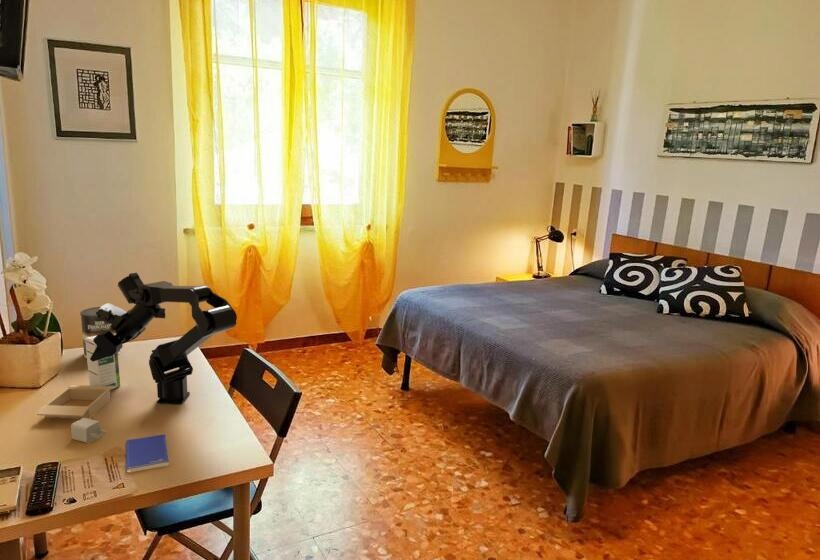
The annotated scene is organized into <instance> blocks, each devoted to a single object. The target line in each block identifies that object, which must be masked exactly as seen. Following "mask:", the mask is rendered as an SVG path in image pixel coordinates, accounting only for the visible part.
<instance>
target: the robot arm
mask: <svg viewBox="0 0 820 560" xmlns="http://www.w3.org/2000/svg"><path fill="white" fill-rule="evenodd" d="M117 287H118V289H119V291H121V293H122V295H123V296H124V298H125V300H126V301H127V303H128V304H129V305H130V304H135V305H133V307H132V308H131V309H128V311H126V310H124V309H123V308H121V307H119V306H116V305H114V304H113V303H109V302H107V303H105V304H103V305H101V306H99V307H100V309H99V310H98V311H97V312H96V315H97V316H96V318H97V319H99V320H101V321H104V322H108V323H110V324H112V325H111V326H110V327H111V328H112V329H113V330H115V333H116V335H115V336H114V335H113V334H112V333H111V332H110V331H103V332H101V333H100V334H98V335H97V336H96V337H95V338H94V339H93V342H94V343H95V344H96V345H97V347H96V349H95V351H94V352H93V354H92V356H91V358H90V360H91V361H92V362H94V361H97V360H100V359H102V358H106V357H109V356H113V355H114V354H115V353H117V352H118V351H119V350H120V351H121V349H122V348H123V347H124V346H123V345H124V344H125V343H128V342H130V341H131V342H132V341H134V340H135V339H136V338H138V337H139V336H140V335H142V334H143V333H144V332H145V331H146V329H147V328H146V327H147V326H148V325H149V323H151V321H152V320H154V319H163V320H164V319H166V308H163V307H161V305H160V304H164V303H165V304H166V303H183V304H184V303H185V304H186V303H187V304H189V305H190V307H191V318H192V319H193V320H194V322H195V325H194V326H193V327H192V328H191V329H189V330H188V331H187V332H186V333H184V334H183V335H181V337H180V338H179V339H176V340H172V341H167V342H165V343H161V344H158V345H157V346H156V348H155V349H152V350H151V354H150V355H149V359H148V365H149V369H150V374H151V377H152V379H153V381H154V383H156V391H157V393H156V394H157V398H158V399H157V400H156V403H157V404H170V405H171V404H173V405H174V404H175V405H177V404H178V405H181V404H183V403H184V402H185V401H186V399H187V398H188V397H189V396H190V394H191V392H190V391H188V381H187V380H188V376H191V375H192V374H193V371H194V368H193V365H192V364H191V362H190V361H189V357H188V355H189V354H191V353H192V352H193V351H195V350H196V349H197V348H199V347H200V346H202V344H204V343H205V342H206V341H207V340H209V339H210V338H212V337H213V336H215V335H217V334H219V333H222V332H226V331H228V330H230V329H233V328H235V327H236V325H237V319H238V316H237V312H236V311H235V309H234V308H233V307H232V306H231V304H230V303H229V301H228V300H227V299H225V298H224V297H222V296H220V295H219V294H217V293H215V292H214V291H213V290H212V289H211V288H210V286H209V285H205V284H202V285H173V283H172V282H169V281H166V280H163V281H154V282H151V283H144V282H143V281H142V279H141V278H140V275H139V274H138V272H131V273H128V276H125V277H123V278H122V279H121V280H120V281H118V283H117ZM204 302H205V303H207V304H208V305H210V306H211V307H213V308H209V309H205V310H202V308H201V307H200V303H204Z"/></svg>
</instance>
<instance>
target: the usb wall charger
mask: <svg viewBox="0 0 820 560" xmlns="http://www.w3.org/2000/svg"><path fill="white" fill-rule="evenodd" d="M101 426H102V425H101V421H98V420H94V419H91V418H90V419H87V418H82V419H80V418H79V419H78V420H77V421H74V422H73V423H71V425H70V431H71V439H73V440H74V441H75V440H76V441H79V442H82V443H86V444H90V443H92V442H93V441H95V440H97V439H99V438H100V437H101V436H102V434H105V435H106V434H107V430H104V429H102V427H101Z"/></svg>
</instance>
